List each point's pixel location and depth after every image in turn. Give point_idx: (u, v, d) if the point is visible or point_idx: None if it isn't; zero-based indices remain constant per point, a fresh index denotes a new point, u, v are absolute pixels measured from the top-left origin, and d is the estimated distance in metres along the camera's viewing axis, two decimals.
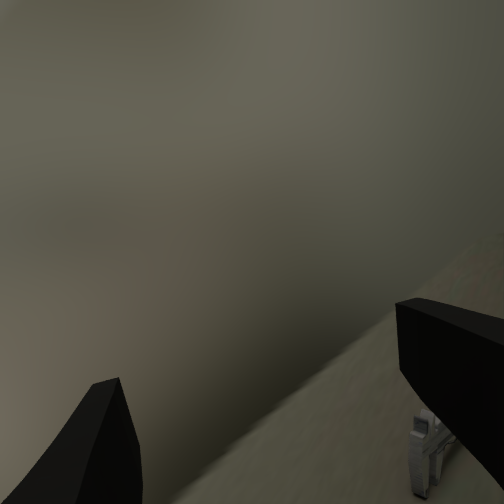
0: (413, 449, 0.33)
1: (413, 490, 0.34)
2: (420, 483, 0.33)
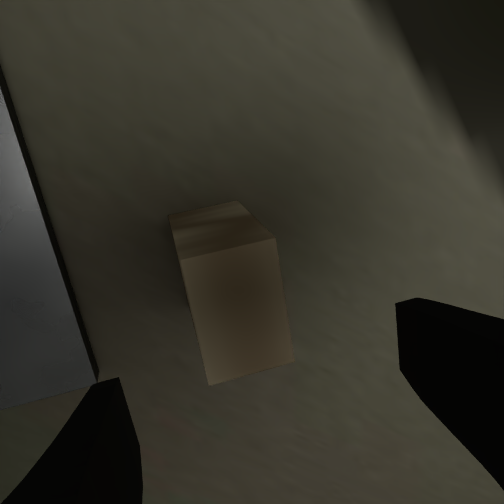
0: None
1: None
2: None
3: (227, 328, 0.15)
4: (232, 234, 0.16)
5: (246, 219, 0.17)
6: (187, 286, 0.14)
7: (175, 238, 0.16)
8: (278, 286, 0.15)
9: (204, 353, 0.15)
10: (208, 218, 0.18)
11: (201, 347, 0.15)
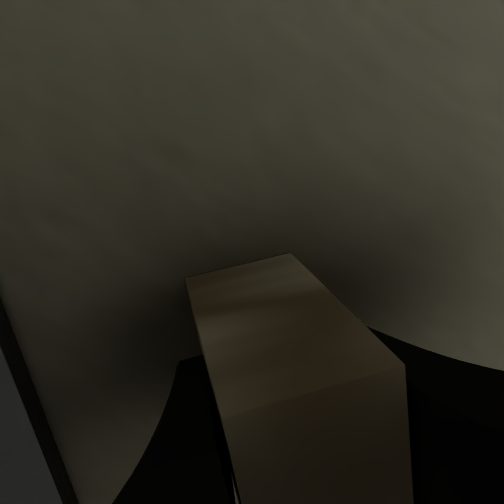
0: None
1: None
2: None
3: None
4: (308, 342, 0.09)
5: (322, 301, 0.10)
6: (234, 462, 0.07)
7: (204, 341, 0.09)
8: (401, 447, 0.08)
9: None
10: (253, 292, 0.11)
11: None
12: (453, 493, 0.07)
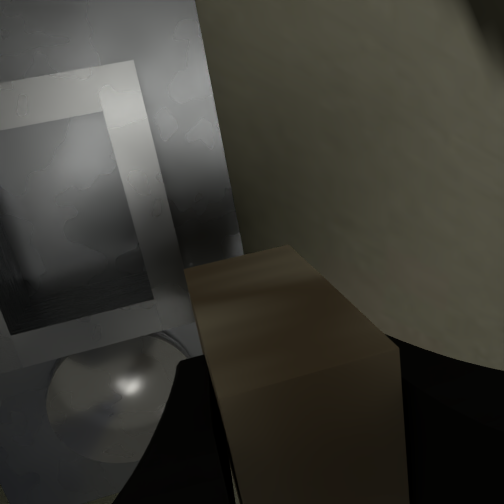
0: None
1: None
2: None
3: None
4: (305, 328, 0.09)
5: (319, 289, 0.10)
6: (231, 443, 0.07)
7: (202, 328, 0.09)
8: (395, 430, 0.08)
9: None
10: (251, 281, 0.11)
11: None
12: (453, 493, 0.07)
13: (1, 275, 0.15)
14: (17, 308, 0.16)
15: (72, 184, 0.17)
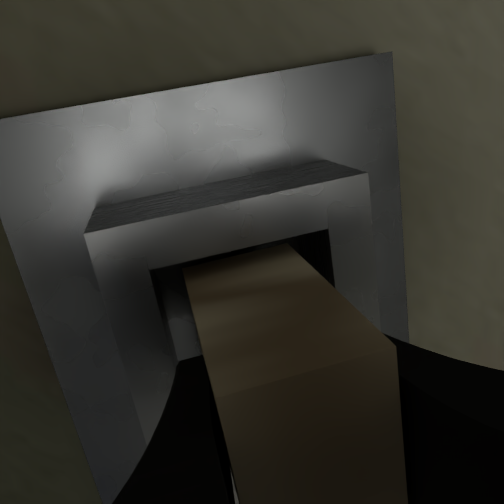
0: None
1: None
2: None
3: None
4: (302, 327, 0.09)
5: (317, 288, 0.10)
6: (228, 442, 0.07)
7: (199, 327, 0.09)
8: (393, 428, 0.08)
9: None
10: (249, 280, 0.11)
11: None
12: (453, 493, 0.07)
13: None
14: None
15: None
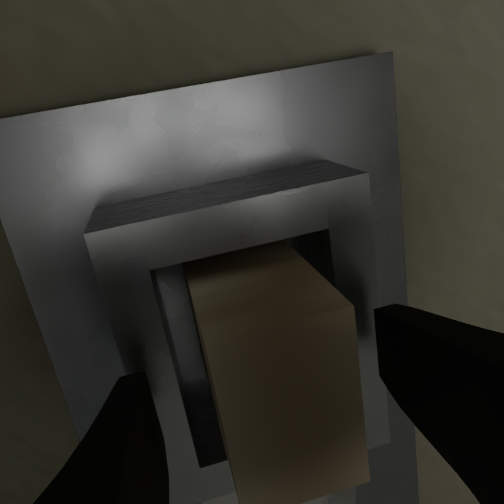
0: None
1: None
2: None
3: (274, 440, 0.10)
4: (279, 293, 0.10)
5: (295, 264, 0.12)
6: (215, 382, 0.09)
7: (193, 295, 0.11)
8: (353, 376, 0.10)
9: (238, 477, 0.10)
10: (237, 259, 0.13)
11: (234, 469, 0.10)
12: None
13: (183, 395, 0.14)
14: (191, 427, 0.14)
15: None
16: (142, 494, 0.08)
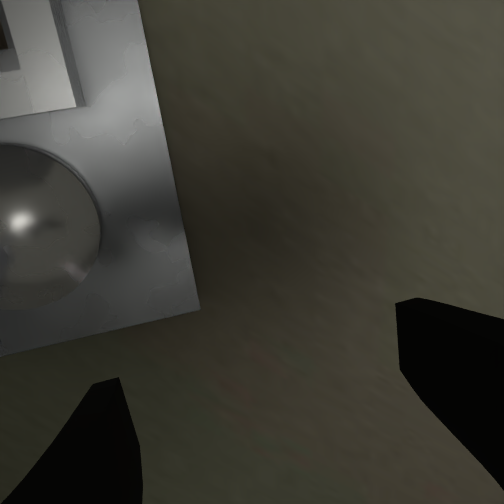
0: None
1: None
2: None
3: None
4: None
5: None
6: None
7: None
8: None
9: None
10: None
11: None
12: None
13: None
14: None
15: None
16: None
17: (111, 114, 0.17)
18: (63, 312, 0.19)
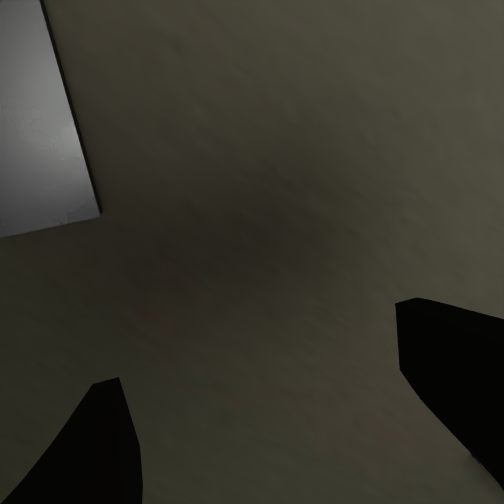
0: None
1: None
2: None
3: None
4: None
5: None
6: None
7: None
8: None
9: None
10: None
11: None
12: None
13: None
14: None
15: None
16: None
17: None
18: None
